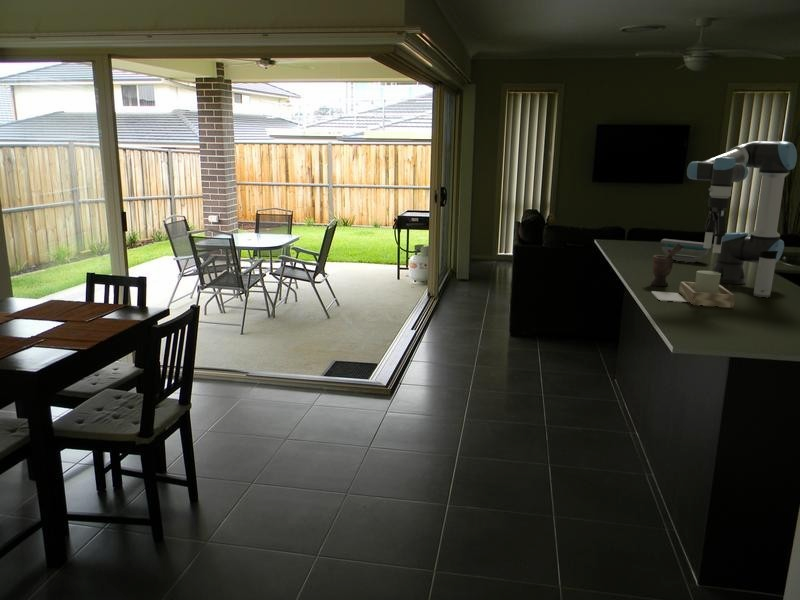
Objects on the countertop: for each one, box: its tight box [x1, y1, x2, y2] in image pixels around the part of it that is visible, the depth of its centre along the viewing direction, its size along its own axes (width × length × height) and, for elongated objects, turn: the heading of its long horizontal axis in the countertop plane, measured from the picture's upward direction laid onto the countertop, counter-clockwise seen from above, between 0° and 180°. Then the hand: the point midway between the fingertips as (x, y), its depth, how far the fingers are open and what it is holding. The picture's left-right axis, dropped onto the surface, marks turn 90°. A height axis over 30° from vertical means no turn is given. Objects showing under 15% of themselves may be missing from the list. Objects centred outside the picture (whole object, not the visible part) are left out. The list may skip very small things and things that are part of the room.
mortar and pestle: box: [650, 243, 683, 287], centre depth 291 cm, size 12×9×20 cm
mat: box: [651, 290, 689, 303], centre depth 269 cm, size 11×16×1 cm
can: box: [694, 270, 721, 294], centre depth 265 cm, size 9×9×12 cm
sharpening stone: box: [660, 238, 713, 263], centre depth 362 cm, size 25×8×11 cm, turn 57°
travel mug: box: [753, 251, 778, 299], centre depth 275 cm, size 6×7×20 cm
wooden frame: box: [678, 281, 736, 309], centre depth 266 cm, size 15×22×5 cm
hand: (711, 250), depth 261 cm, fingers open, 13 cm apart
